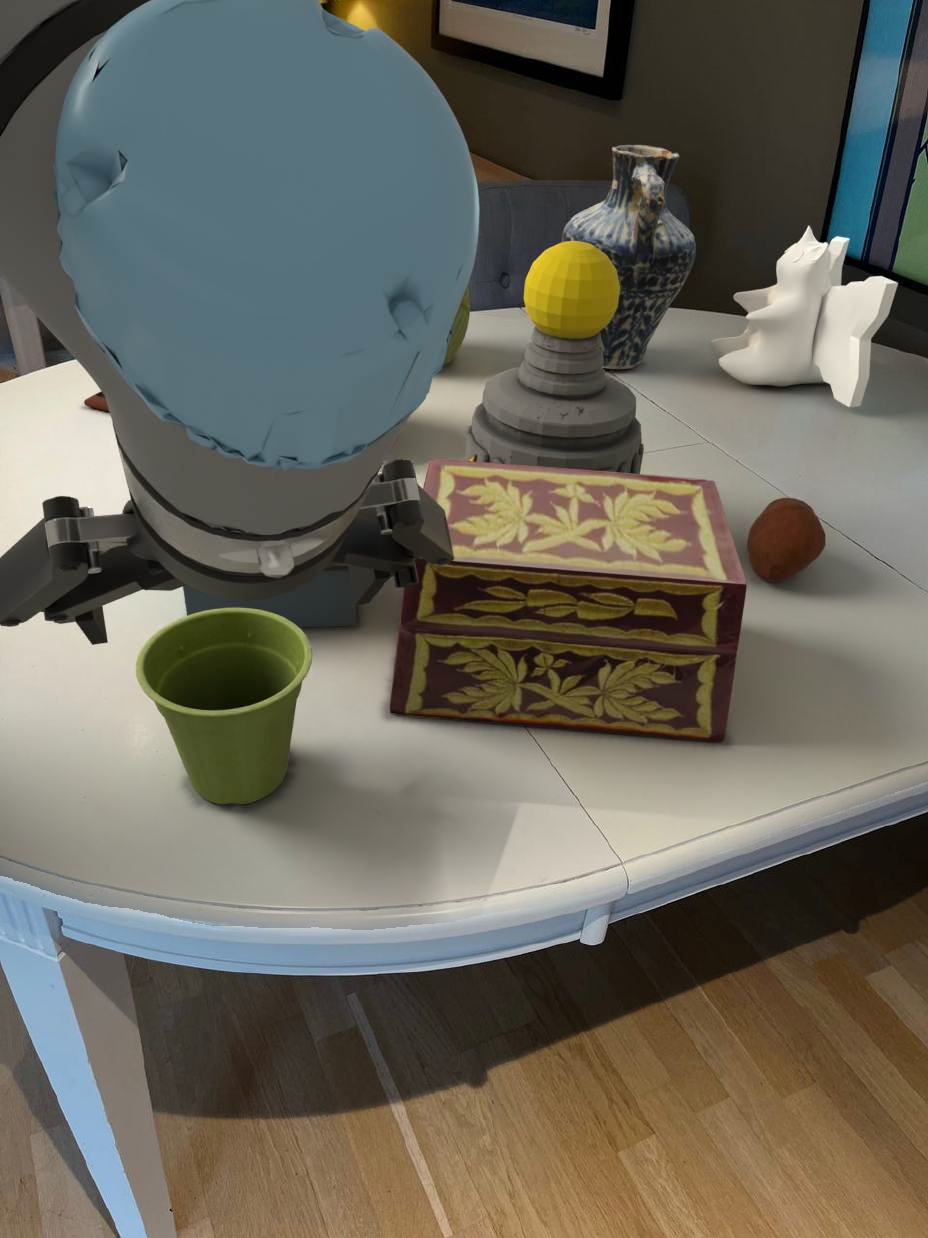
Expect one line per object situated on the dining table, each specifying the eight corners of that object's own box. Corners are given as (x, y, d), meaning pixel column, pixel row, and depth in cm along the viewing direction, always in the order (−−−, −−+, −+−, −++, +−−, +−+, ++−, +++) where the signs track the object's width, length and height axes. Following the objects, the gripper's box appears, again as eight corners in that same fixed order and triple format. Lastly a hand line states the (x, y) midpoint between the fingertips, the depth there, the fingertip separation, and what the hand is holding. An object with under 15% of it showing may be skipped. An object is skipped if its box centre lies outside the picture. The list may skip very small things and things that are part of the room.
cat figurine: (696, 347, 156) (723, 208, 143) (826, 355, 155) (865, 217, 143) (723, 408, 135) (758, 252, 123) (874, 417, 135) (923, 263, 123)
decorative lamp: (437, 495, 110) (448, 220, 92) (586, 477, 115) (622, 214, 98) (495, 582, 95) (520, 276, 78) (661, 557, 101) (720, 266, 84)
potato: (813, 547, 104) (833, 482, 100) (816, 604, 95) (839, 535, 91) (742, 535, 106) (759, 470, 101) (739, 590, 97) (757, 521, 92)
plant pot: (126, 809, 69) (99, 688, 62) (209, 707, 78) (193, 593, 72) (275, 851, 66) (263, 730, 60) (343, 742, 76) (339, 627, 69)
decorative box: (695, 614, 93) (728, 474, 84) (725, 744, 78) (768, 591, 69) (414, 591, 94) (417, 450, 85) (388, 716, 78) (388, 560, 70)
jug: (536, 338, 155) (556, 133, 138) (649, 337, 158) (682, 137, 141) (570, 387, 138) (597, 162, 121) (696, 385, 142) (740, 165, 124)
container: (183, 635, 86) (173, 570, 82) (199, 543, 99) (191, 483, 95) (361, 628, 88) (360, 564, 84) (354, 539, 101) (353, 480, 97)
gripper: (-186, 640, 26) (-16, 710, 47) (626, 529, 33) (468, 631, 54) (-213, 385, 27) (-35, 561, 48) (581, 329, 34) (442, 503, 55)
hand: (231, 598), depth 51 cm, fingers open, 13 cm apart
